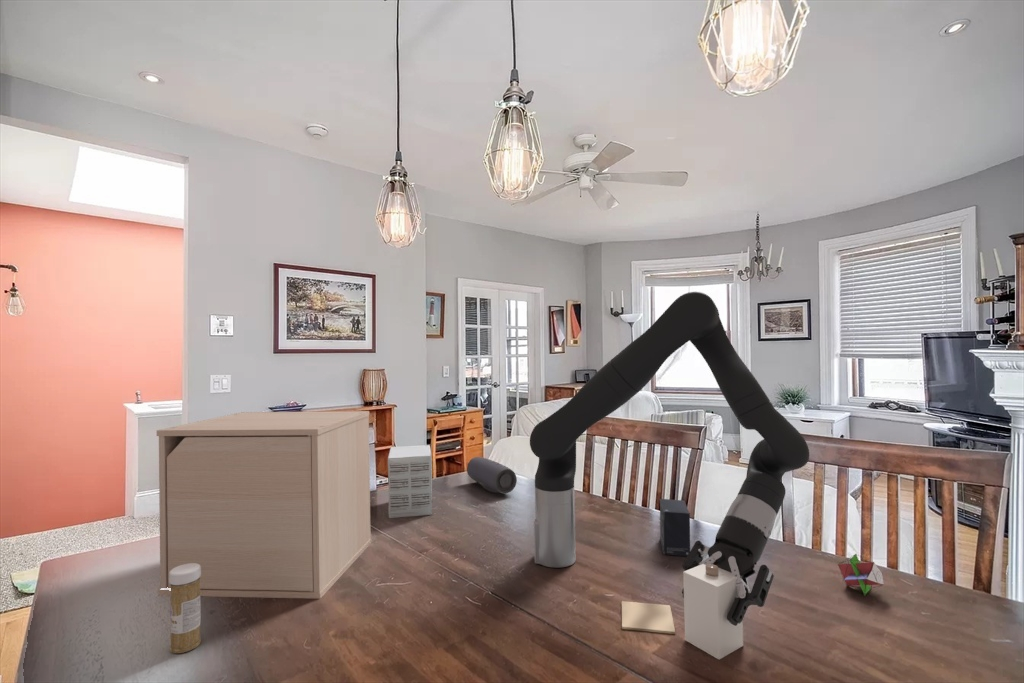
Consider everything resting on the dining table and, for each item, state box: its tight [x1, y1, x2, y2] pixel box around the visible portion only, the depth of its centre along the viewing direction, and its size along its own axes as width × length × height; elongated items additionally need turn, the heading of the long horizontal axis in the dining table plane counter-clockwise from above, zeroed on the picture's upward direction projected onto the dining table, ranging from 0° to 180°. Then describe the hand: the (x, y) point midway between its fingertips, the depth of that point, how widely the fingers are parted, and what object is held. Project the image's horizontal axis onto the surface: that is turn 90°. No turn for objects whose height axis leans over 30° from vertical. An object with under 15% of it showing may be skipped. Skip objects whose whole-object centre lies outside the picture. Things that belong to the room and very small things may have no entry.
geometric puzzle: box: [837, 553, 885, 596], centre depth 100 cm, size 7×7×8 cm
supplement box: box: [387, 444, 433, 519], centre depth 158 cm, size 17×13×18 cm
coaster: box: [621, 600, 676, 635], centre depth 92 cm, size 9×9×1 cm
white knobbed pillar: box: [682, 564, 744, 661], centre depth 84 cm, size 6×6×13 cm
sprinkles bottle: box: [169, 563, 202, 654], centre depth 85 cm, size 5×5×14 cm
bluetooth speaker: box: [466, 456, 518, 494], centre depth 177 cm, size 23×9×10 cm, turn 30°
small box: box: [659, 498, 691, 557], centre depth 123 cm, size 11×6×10 cm, turn 168°
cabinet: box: [156, 410, 372, 600], centre depth 117 cm, size 35×29×34 cm
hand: (708, 611), depth 83 cm, fingers open, 8 cm apart
